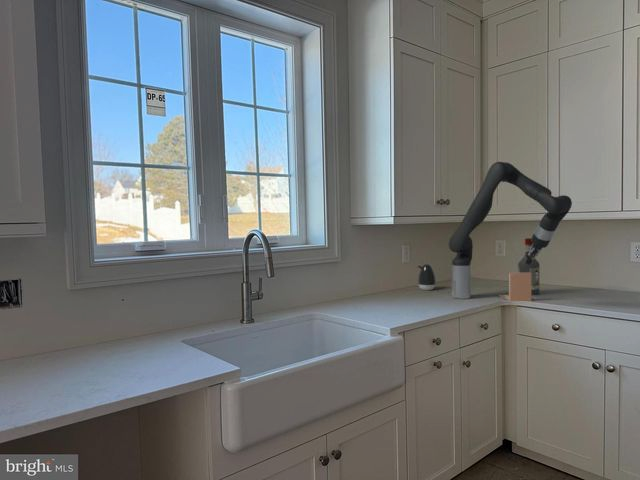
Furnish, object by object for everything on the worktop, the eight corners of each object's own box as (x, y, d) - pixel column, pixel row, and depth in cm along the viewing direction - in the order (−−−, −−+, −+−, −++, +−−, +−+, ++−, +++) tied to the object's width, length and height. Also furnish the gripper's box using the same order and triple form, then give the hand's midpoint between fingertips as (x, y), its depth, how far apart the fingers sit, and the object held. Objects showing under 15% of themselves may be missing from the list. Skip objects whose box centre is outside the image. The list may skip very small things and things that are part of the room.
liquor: (516, 293, 238) (516, 238, 237) (524, 291, 244) (524, 238, 242) (532, 295, 231) (532, 239, 230) (541, 293, 236) (541, 238, 235)
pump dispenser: (417, 288, 263) (416, 263, 262) (434, 288, 261) (434, 263, 261) (418, 291, 253) (418, 265, 252) (436, 291, 251) (436, 264, 251)
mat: (504, 299, 221) (504, 298, 221) (497, 295, 233) (497, 294, 233) (533, 299, 219) (533, 298, 219) (525, 295, 231) (525, 294, 231)
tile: (510, 300, 218) (510, 273, 217) (509, 300, 220) (509, 272, 219) (531, 300, 216) (531, 272, 216) (529, 300, 218) (529, 272, 218)
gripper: (542, 226, 202) (527, 254, 213) (528, 235, 195) (513, 264, 205) (557, 234, 198) (541, 262, 209) (544, 244, 191) (528, 273, 201)
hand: (527, 263), depth 207 cm, fingers closed
